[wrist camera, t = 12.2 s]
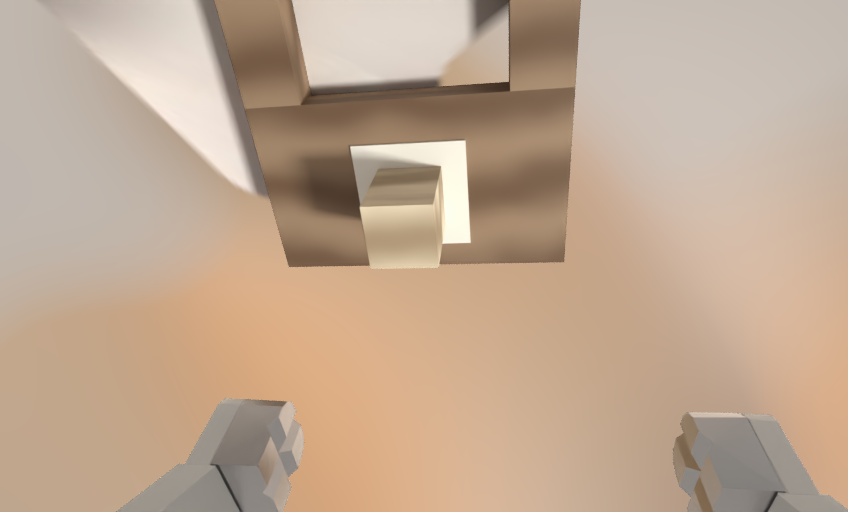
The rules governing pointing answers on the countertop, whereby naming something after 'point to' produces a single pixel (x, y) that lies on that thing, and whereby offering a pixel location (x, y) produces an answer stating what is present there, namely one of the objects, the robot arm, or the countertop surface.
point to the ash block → (404, 218)
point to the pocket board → (414, 140)
